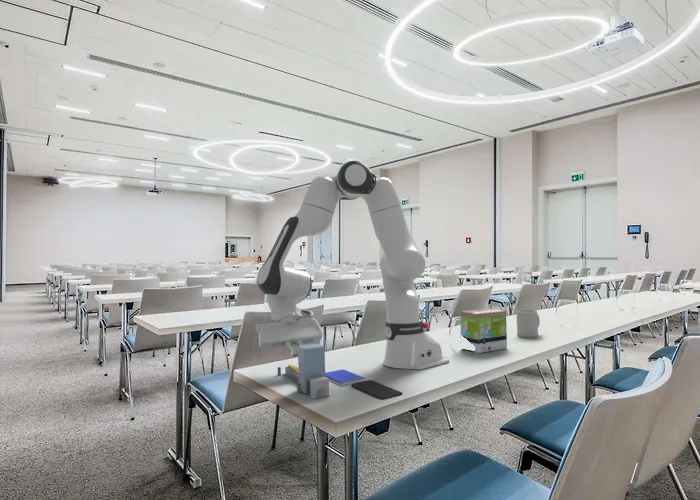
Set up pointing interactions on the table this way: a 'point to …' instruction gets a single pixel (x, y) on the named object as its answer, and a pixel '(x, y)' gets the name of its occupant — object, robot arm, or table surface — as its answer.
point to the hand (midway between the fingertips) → (296, 355)
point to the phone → (376, 389)
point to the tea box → (484, 329)
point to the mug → (527, 323)
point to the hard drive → (343, 377)
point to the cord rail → (308, 382)
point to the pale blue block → (310, 363)
